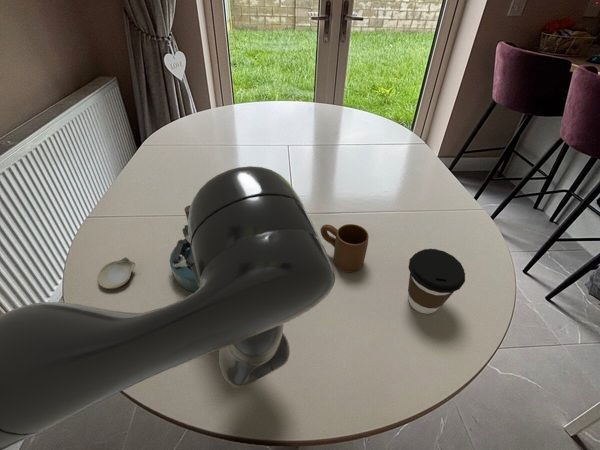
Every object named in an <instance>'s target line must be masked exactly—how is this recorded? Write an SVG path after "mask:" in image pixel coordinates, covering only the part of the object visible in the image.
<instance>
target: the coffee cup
mask: <svg viewBox="0 0 600 450" xmlns="http://www.w3.org/2000/svg"><path fill="white" fill-rule="evenodd" d="M407 269H408V271H409V279H408V287H407V292H408V293H407V300H408V302H409V305H410V306H411V307H412V309H414V310H415V311H416V312H418V313H421V314H425V315H427V314H428V315H429V314H432V313H435V312H437V311H438V309H439V308H440V307H442V306H443V305H444V304H445V303H446V302H447V301H448V300H449V298H450V297H451V296H452V295H453V294H454V292H456V291H459V290H460V289H461V288H462V287H463V285H464V284H465V282H466V272H465V269H464V266H463V265H462V263H461V262H460V261H459V260H458V259H457V257H455V256H454V255H452V254H450V253H448V252H446V251H445V250H441V249H437V248H425V249H421V250H419V251H417V252H415V253H414V254H413V255H412V256H411V257H410V258H409V261H408V268H407Z"/></svg>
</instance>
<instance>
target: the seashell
mask: <svg viewBox="0 0 600 450" xmlns="http://www.w3.org/2000/svg"><path fill="white" fill-rule="evenodd" d="M135 267H136V263H135V262H133V261H132V260H130V259H129V258H128V257H127V256H126V257H123V258H121V259H120V260H114V261H111V262H108V263H106V264H105V265H104V266H103V267H102V268H101V269H100V270H99V272H98V275H97V283H98V285H99V287H101V288H103V289H106V290H113V289H114V290H115V289H119V288H120V287H122V286H123V285H125V284H126V283H127V282H128V281H129V280H130V278H131V275H132V272H133V271H134V269H135Z"/></svg>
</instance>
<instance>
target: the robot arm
mask: <svg viewBox="0 0 600 450" xmlns="http://www.w3.org/2000/svg"><path fill="white" fill-rule="evenodd" d="M297 193H298V192H297V191H296V190H295V189H294V187H293V186H292V185H291V183H290V182H289V181H288V180H287V179H286V178H285V177H284V176H283V175H282V174H280V173H278V172H277V171H274V170H272V169H270V168H268V167H267V168H266V167H263V166H254V165H253V166H252V165H249V166H240V167H235V168H231V169H227V170H226V171H223V172H221V173H219V174H217V175H215V176H213V177H212V178H211V179H209V180H208V181H206V183H204V185H203V186H202V187H200V188H199V190H198V191H197V193H196V194H195V196H194V198H193V199H192V202H191V204H190V205H191V207H190V210H189V217H188V221H187V224H185V225H184V226H183V228H182V234H183V237H184V239H179V240H178V241H177V242H176V246H175V247H176V248H175V247H174V248H175V251H174V254H173V257H172V263H173V265H174V268H175V269H176V270H178V269H180V268H181V267H184V266H187V268H188V269H190V270H191V271H192V272H193V275H194V277H195V279H196V282H197V284H198V287H199V289H198V290H197V291H196V292H193V293H191V294H190V295H188V296H186V297H184V298H182V299H180V300H177V301H176V302H174V303H171V304H168V305H165V306H163V307H159V308H155V309H151V310H148V311H144V312H125V311H118V310H111V309H105V308H100V307H97V306H90V305H84V304H79V303H71V302H63V301H45V302H44V301H43V302H42V301H41V302H34V303H29V304H26V305H22V306H18V307H16V308H14V309H11V310H9V311H7V312H5V313H2V314H0V450H6V449H7V448H10V447H12V446H14V445H16V444H18V443H20V442H23V441H25V440H26V439H27V440H28V439H29V438H31V437H33V436H36V435H37V434H39V433H41V432H45V430H47V429H50V428H51V427H53V426H55V425H58V424H59V423H62V422H63V421H65V420H67V419H69V418H71V417H73V416H74V415H76V414H79V413H80V412H82V411H85V410H86V409H88V408H90V407H93V406H94V405H96V404H98V403H100V402H102V401H104V400H106V399H109V398H110V397H113V396H114V395H116V394H118V393H120V392H123V391H124V390H127V389H129V388H131V387H133V386H135V385H137V384H139V383H141V382H143V381H145V380H148V379H150V378H152V377H154V376H157V375H159V374H162V373H164V372H167V371H168V370H171V369H173V368H177V367H178V366H181V365H183V364H186V363H189V362H191V361H194V360H196V359H198V358H201V357H204V356H207V355H209V354H212V353H215V352H216V351H218V363H219V364H218V365H219V369H220V371H221V374H222V376H223V378H224V379H225V381H226V382H227V383H228V384H230V385H231V386H232V387H235V388H244V387H247V386H249V385H251V384H253V383H255V382H257V381H259V380H260V379H262V378H264V377H266V376H268V375H269V374H271V373H274V372H275V371H277V370H279V369H280V368H282V367H283V366H285V365H286V364H287V363H288V361H289V358H290V354H291V347H290V343H289V340H288V338H287V336H286V335H285V333H284V326H285V325H284V324H286V323H288V322H290V321H292V320H294V319H296V318H298V317H300V316H302V315H303V314H306V313H307V312H309V311H311V310H313V308H315V307H316V306H318V305H319V304H320V303H321V302H323V301H324V299H326V298H327V297H328V296H329V294H330V293H331V292H332V290H333V288H334V286H335V283H336V273H335V269H334V266H333V264H332V262H331V258H330V257H329V254H328V253H327V251H326V249H325V246H324V245H323V242H321V238H320V236H319V234H318V232H317V230H316V228H315V226H314V224H313V221H312V220H311V217H310V216H309V213H308V211H307V209H306V208H305V206H304V204H303V201H302V200H301V198H300V196H299V195H298V194H297ZM188 247H189V248H190V250H191V252H190V254H189V256H188V258H187V259H186V260H185V258H184V256H185V253H186V249H187V248H188Z"/></svg>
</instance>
